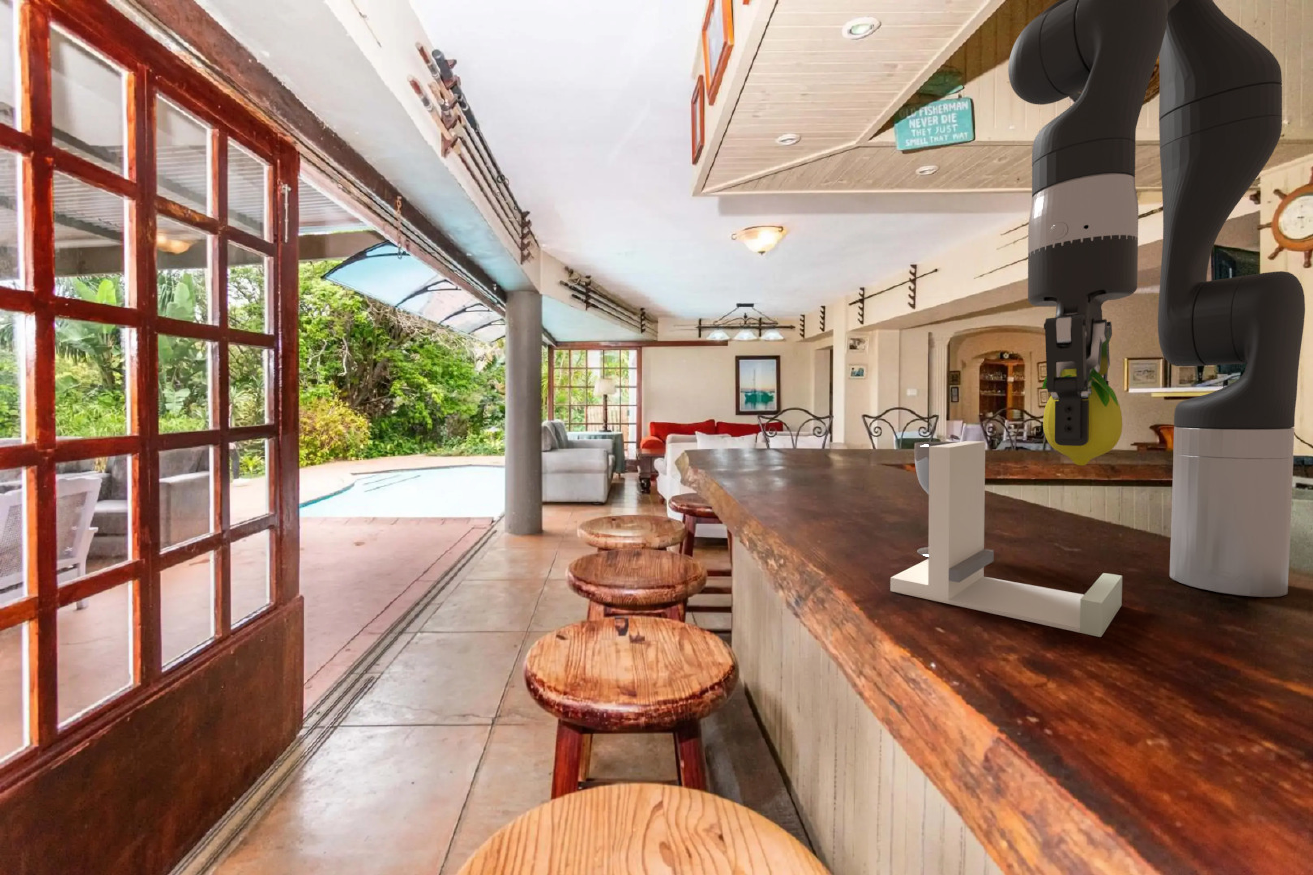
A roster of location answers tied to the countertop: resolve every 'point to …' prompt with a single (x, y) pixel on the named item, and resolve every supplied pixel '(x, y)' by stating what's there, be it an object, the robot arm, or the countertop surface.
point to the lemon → (1090, 423)
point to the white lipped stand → (989, 556)
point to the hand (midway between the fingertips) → (1078, 441)
